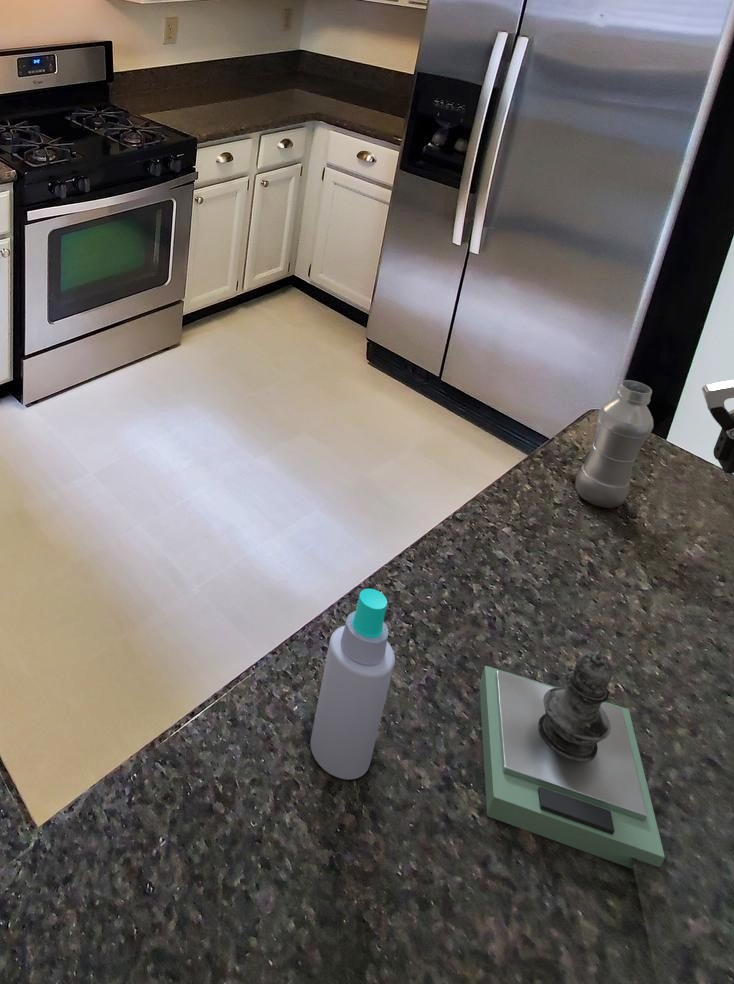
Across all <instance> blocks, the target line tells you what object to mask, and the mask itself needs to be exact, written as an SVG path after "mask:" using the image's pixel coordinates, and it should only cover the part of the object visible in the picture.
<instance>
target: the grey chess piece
mask: <svg viewBox="0 0 734 984" xmlns="http://www.w3.org/2000/svg"><path fill="white" fill-rule="evenodd" d="M573 668H574V669H573V670H571V671H569V672H568V673H567V674H566V676H565V683H566V686H565V687H564V686H555V687H556V688H552V689H550V690H548V691H547V692H546V694H545V696H544V699H543V702H544V707H545V713H546V714H544V715H542V717H541V718H540V720H539V723H538V726H539V731H540V734H541V736H542V737H543V739H544V740H545V742H546V743H547V744H548V745H549V746H550V747H551V748H552V749H553V750H555V751H556V752H557V753H559V754H560V755H562V756H564V757H566V758H569V759H572V760H574V761H581V762H583V761H589V760H591V759H593V758H594V757H595V756H596V754H597V750H598V747H597V742H599V741H601V740H603V739H605V738H606V737H607V736H608V735H609V734H610V729H611V725H610V720H609V718H608V716H607V714H606V713H605V711H604V710H603V709H602V708H601V703H603V702H607V701H608V699H609V690H608V685H609V683H610V681H611V678H612V676H613V668H612V667H611V665H610V663H609V662H608V661H607V659H606V658H605V657H604V655H603V654H602V653H601V652H595V653H594V652H584V653H581V654H580V655H579V656H578V658H577V660H576V663H575V666H574V667H573Z"/></svg>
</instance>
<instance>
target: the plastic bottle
mask: <svg viewBox="0 0 734 984" xmlns="http://www.w3.org/2000/svg"><path fill="white" fill-rule="evenodd" d="M652 394H653V390H652V388H651V387H650V386H648V385H647V384H645V383H643V382H639V381H636V380H632V379H625V380H622V381H621V382H620V385H619V388H618V389H617V392H616V395H617V396H616V397H614V398H612V399H610V400H609V401H607V402H605V403H604V404H603V405H602V406H601V408H600V409H599V411H598V416H597V423H596V428H595V429H596V430H595V434H594V438H593V442H592V445H591V449H590V451H589V453H588V455H587V456H586V459H585V460H584V463H583V464H582V466H581V467H580V468H579V470H578V472H577V473H576V475H575V485H574V487H575V489H576V492H577V494H578V495H579V496H580V497H581V498H582V499H583V500H585V502H587V503H590V504H592V505H594V506H597V507H599V508H605V509H612V508H616V507H619V506H621V505H622V504H624V502H625V500H626V499H627V498H628V495H629V491H630V479H631V477H632V472H633V468H634V464H635V461H636V460H637V457H638V456H639V454H640V451H641V449H642V448H643V446H644V444H645V443H646V441H647V439H648V438H649V436H650V434H651V433H652V431H653V429H654V418H653V416H652V413H651V411H650V409H649V407H648V405H649V404H650V402H651V397H652Z"/></svg>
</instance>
